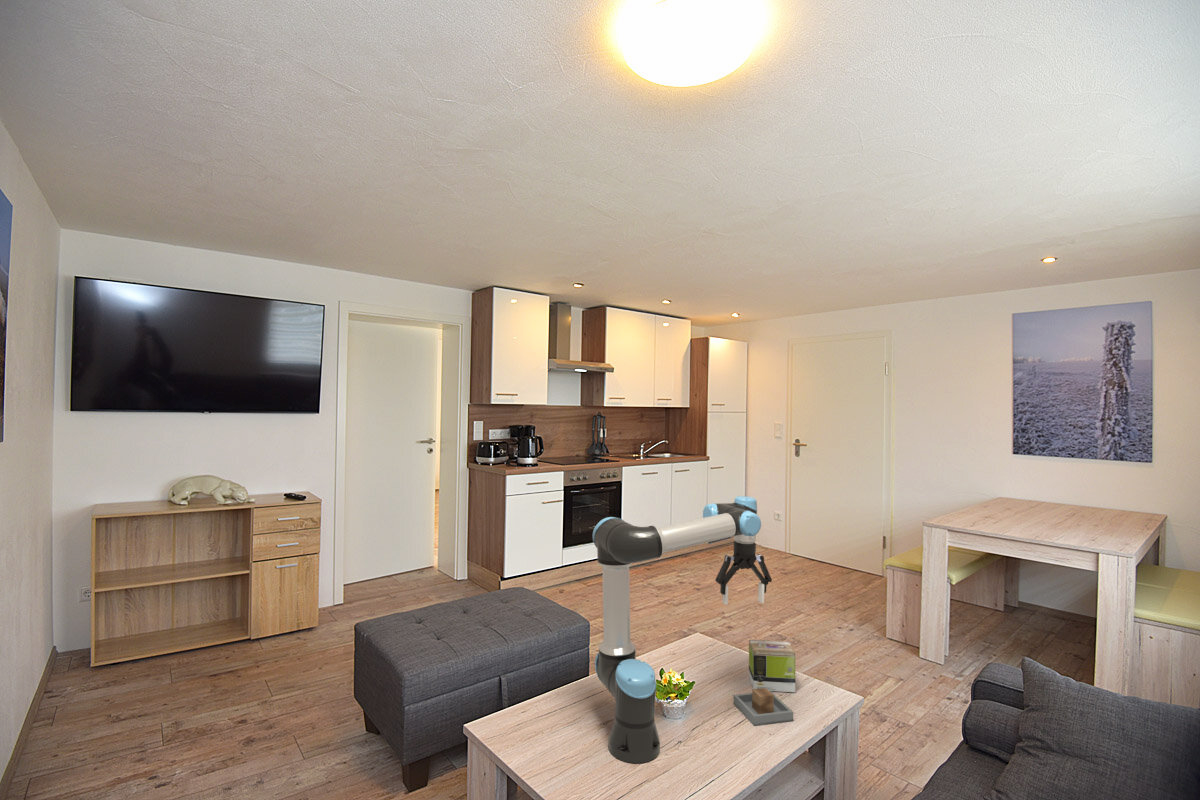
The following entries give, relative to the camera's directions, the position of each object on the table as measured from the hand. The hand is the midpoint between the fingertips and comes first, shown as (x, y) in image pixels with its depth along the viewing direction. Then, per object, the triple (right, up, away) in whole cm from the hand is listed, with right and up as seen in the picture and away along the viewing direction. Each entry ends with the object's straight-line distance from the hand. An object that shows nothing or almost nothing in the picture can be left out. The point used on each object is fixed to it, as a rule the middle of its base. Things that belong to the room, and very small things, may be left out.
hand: (743, 603), depth 194 cm
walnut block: (+4, -33, -8) cm, 34 cm away
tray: (+4, -33, -8) cm, 35 cm away
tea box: (+13, -34, +11) cm, 38 cm away
